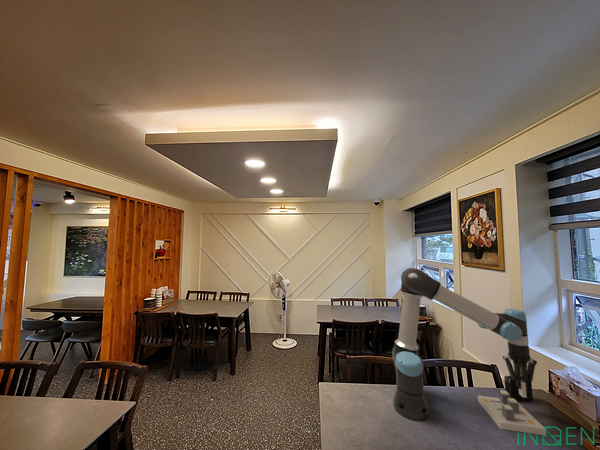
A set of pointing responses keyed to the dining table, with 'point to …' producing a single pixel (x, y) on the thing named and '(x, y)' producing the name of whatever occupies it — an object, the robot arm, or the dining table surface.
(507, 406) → the slider near
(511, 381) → the electronic device
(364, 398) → the dining table surface
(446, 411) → the dining table surface
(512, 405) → the slider mid
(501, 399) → the slider far
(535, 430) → the switch unit
